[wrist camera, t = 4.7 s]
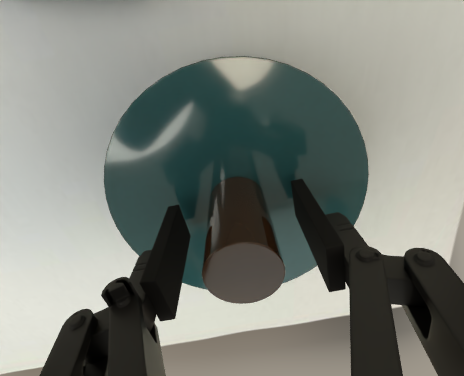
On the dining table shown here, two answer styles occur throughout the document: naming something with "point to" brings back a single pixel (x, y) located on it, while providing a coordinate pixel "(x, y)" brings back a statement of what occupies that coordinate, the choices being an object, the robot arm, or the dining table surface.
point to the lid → (234, 169)
